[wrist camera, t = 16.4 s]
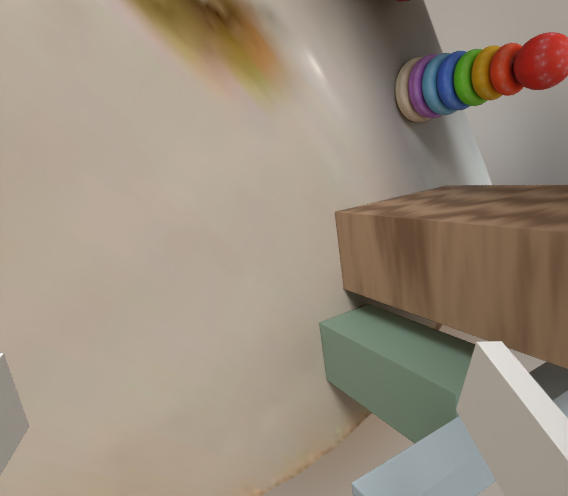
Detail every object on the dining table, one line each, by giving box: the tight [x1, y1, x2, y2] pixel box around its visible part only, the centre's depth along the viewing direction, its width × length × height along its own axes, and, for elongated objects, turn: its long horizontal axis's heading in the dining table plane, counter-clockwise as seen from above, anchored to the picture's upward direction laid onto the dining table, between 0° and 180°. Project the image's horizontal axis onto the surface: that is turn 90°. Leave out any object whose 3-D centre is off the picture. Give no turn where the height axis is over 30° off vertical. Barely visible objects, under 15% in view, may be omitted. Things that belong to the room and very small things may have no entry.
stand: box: [335, 185, 568, 369], centre depth 42 cm, size 20×10×30 cm, turn 99°
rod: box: [352, 362, 568, 496], centre depth 34 cm, size 30×4×4 cm, turn 99°
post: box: [319, 304, 475, 443], centre depth 44 cm, size 8×8×20 cm
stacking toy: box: [395, 32, 568, 122], centre depth 45 cm, size 8×8×19 cm
